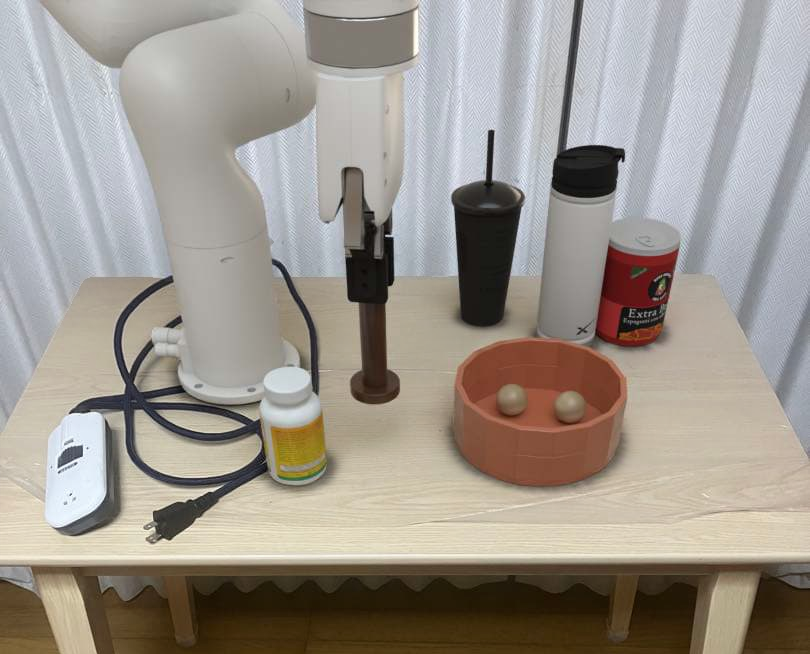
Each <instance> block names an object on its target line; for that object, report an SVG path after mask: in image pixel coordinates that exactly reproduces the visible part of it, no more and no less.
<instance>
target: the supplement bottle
mask: <svg viewBox="0 0 810 654" xmlns="http://www.w3.org/2000/svg"><path fill="white" fill-rule="evenodd" d="M263 385H264V394H265V397H264V398H263V399H262V400H260V403H259V407H258V413H259V421H260V426H261V434H262V441H263V447H264V453H265V460H266V466H267V470H268V473H269V475H270V477H271V478H272V479H273V480H275V481H276V482H278V483H280V484H283V485H287V486H304V485H309V484H311V483H314V482H315V481H318V479H320V478H321V477H322V476H323V475H324V473H325V472H326V469H327V466H328V459H327V448H326V437H325V425H324V416H323V415H324V414H323V405H322V401H321V399H320V397H319V396H318V395H317V393H315V392H314V390H313V389H314V388H313V382H312V376H311V374H310V373H309V371H307V370H306V369H304V368H302V367H300V368H299V367H281V368H278V369H275V370H273V371H271V372H269V373H268V374H267V375H266V376H265V377H264V380H263Z"/></svg>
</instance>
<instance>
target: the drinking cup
mask: <svg viewBox="0 0 810 654" xmlns="http://www.w3.org/2000/svg"><path fill="white" fill-rule="evenodd" d="M495 136H496V130H495V129H488V130H487V141H486V142H487V146H486V163H485V165H486V166H485V179H483V180H481V179H480V180H476V181H472V182H470V183H467V184H464V185H461V186H459V187H457V188H455V189H454V190H453V191H452V193H451V194H450V203H451V205H452V206H453V213H454V228H455V229H454V231H455V246H456V260H457V261H456V263H457V274H458V275H457V277H458V291H459V294H458V295H459V305H460V306H459V307H460V318H461V319H462V320H463V322H465V323H467V324H469V325H472V326H475V327H489V326H494V325H496V324H499V323H500V322H502V320H503V318H504V314H505V309H506V303H507V297H508V291H509V285H510V280H511V273H512V267H513V261H514V256H515V251H516V243H517V238H518V231H519V226H520V219H521V214H522V208H523V207H524V205H525V204H526V194H525V193H524V191H523V190H522V189H520V188H519V187H517V186H514V185H511V184H509V183H506V182H505V181H500V180H495V179H494V180H493V175H494V174H493V173H494V158H495V157H494V155H495V138H496V137H495Z"/></svg>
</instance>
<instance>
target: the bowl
mask: <svg viewBox="0 0 810 654" xmlns="http://www.w3.org/2000/svg"><path fill="white" fill-rule="evenodd" d="M507 384H517V385H519V386H521V387H522V388H523V389H524V390H525V391H526V393H527V397H528V402H527V405H526V407H525V409H524V410H523V411H522V412H521V413H519V414H517V415H513V416H510V415H506V414H504V413H502V412H501V411H500V410H499V409H498V407H497V404H496V396H497V393H498V391H499V390H500V389H501V388H502V387H503V386H505V385H507ZM566 391H575V392H578V393H579V394H581V395H582V396H583V397H584V399H585V401H586V412H585V414H584V416H583V417H582V418H581V419H580V420H579V421H577V422H574V423H565V422H563V421H561V420H560V419H559V418H558V417H557V416H556V414H555V411H554V403H555V400H556V399H557V397H558V396H559V395H560V394H562V393H563V392H566ZM453 393H454V394H453V395H454V398H453V435H454V440H455V444H456V447H457V449H458V450H459V452H460V454H461V455H462V457H464V459H465V460H466V461H467V462H468V463H469V464H470V465H471V466H473V467H474V468H476V469H477V470H478V471H481V472H482V473H483V474H486V475H488V476H490V477H492V478H495V479H497V480H500V481H504V482H507V483H511V484H516V485H521V486H528V487H529V486H530V487H555V486H557V487H558V486H565V485H569V484H573V483H577V482H580V481H583V480H586V479H588V478H590V477H592V476H594V475H596V474H598V473H599V472H600V471H602V470H603V469H605V467H607V466H608V464H610V462H611V461H612V459H613V458H614V456H615V453H616V450H617V449H618V448H619V445H620V439H621V434H622V428H623V424H624V423H623V422H624V418H625V412H626V407H627V401H628V381H627V377H626V376H625V374H624V373H623V372H622V370H621V369H620V368H619V367H618V365H617V364H616V363H615V361H614V360H613V359H611V358H609V357H607V356H606V355H604V354H602V353H601V352H599V351H597V350H595V349H593V348H592V347H587V346H583V345H580V344H576V343H573V342H569V341H565V340H562V339H552V338H536V336H527V337H526V336H525V337H519V338H513V339H512V338H511V339H505V340H499V341H496V342H493V343H490V344H488V345H486V346H484V347H482V348H479V349H477V350H474V351H473V352H472V353H471V354H470V355H469V356H467V358H465V359H464V360H463V362H461V363H460V365H458V366H457V372H456V375H455V381H454V392H453Z"/></svg>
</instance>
